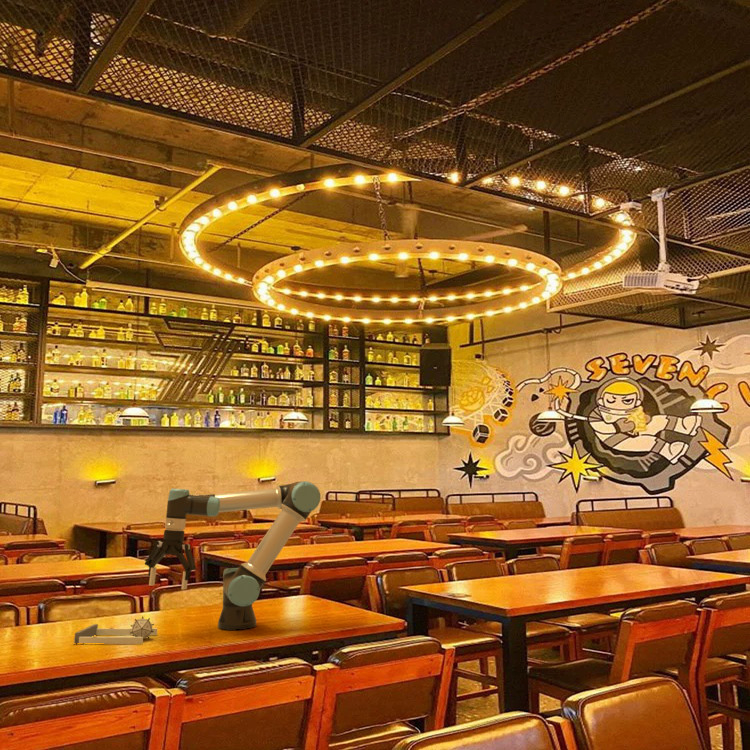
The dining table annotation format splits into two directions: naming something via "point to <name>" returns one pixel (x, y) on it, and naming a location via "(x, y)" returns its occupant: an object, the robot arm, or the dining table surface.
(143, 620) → the game die
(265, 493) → the robot arm
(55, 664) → the dining table surface
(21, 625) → the dining table surface
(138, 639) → the tan piece
